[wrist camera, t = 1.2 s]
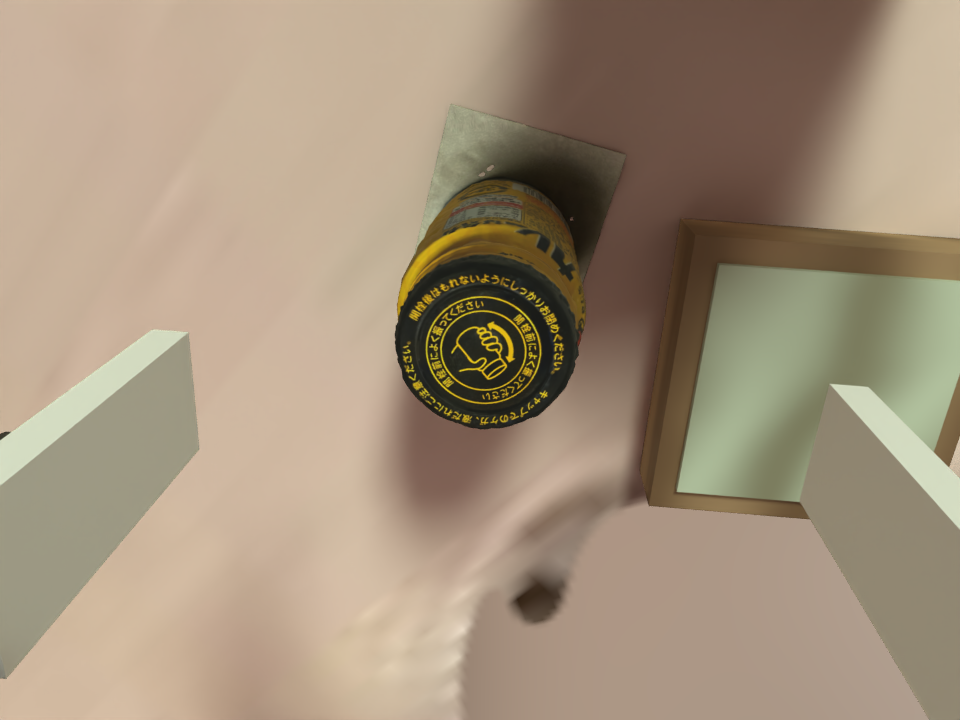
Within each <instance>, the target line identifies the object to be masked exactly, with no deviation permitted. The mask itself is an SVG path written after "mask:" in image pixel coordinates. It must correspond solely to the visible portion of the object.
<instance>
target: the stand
mask: <svg viewBox="0 0 960 720" xmlns="http://www.w3.org/2000/svg"><path fill="white" fill-rule="evenodd" d="M829 384H839V385H851V386H863V387H869V388H870V389H871V390H872V391H873V392H874V393H875V394H876V395H877V396H878V397H879V398H880V399H881V400H882V401H883V402H884V403H885V404H886V405H887V406H888V407H889V408H890V409H891V410H892V411H893V412H894V413H895V414H896V415H897V416H898V417H899V418H900V419H901V420H902V421H903V422H904V423H905V424H906V425H907V426H908V427H909V428H910V429H911V430H912V431H913V432H914V433H915V434H916V435H917V436H918V437H919V438H920V439H921V440H922V441H923V442H924V443H925V444H926V445H927V446H928V447H929V448H930V449H931V450H932V451H933V452H934V453H935V454H936V455H937V456H938V457H939V458H940V459H941V460H942V461H943V462H944V463H945V464H946V465H947V466H948V467H949V466H950V463H951V460H952V457H953V454H954V451H955V448H956V446H957V443H958V440H959V437H960V239H956V238H942V237H929V236H915V235H901V234H887V233H873V232H859V231H846V230H832V229H818V228H804V227H790V226H777V225H763V224H749V223H735V222H721V221H707V220H694V219H681V220H680V226H679V232H678V238H677V244H676V251H675V257H674V263H673V269H672V275H671V281H670V287H669V293H668V300H667V306H666V312H665V318H664V324H663V330H662V336H661V342H660V348H659V355H658V361H657V367H656V373H655V379H654V385H653V391H652V397H651V404H650V410H649V416H648V422H647V428H646V434H645V440H644V446H643V452H642V459H641V465H640V474H641V478H642V481H643V485H644V489H645V493H646V497H647V500H648V504H649V506H658V507H670V508H682V509H694V510H705V511H718V512H730V513H742V514H754V515H766V516H777V517H789V518H801V519H810V518H809V516H808V514H807V513H806V511H805V509H804V508H803V506H802V504H801V503H800V501H799V500H800V496H801V492H802V488H803V484H804V481H805V477H806V473H807V469H808V465H809V461H810V457H811V454H812V450H813V446H814V442H815V438H816V434H817V430H818V426H819V423H820V419H821V415H822V411H823V407H824V403H825V399H826V396H827V392H828V388H829Z"/></svg>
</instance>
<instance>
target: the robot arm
mask: <svg viewBox="0 0 960 720" xmlns="http://www.w3.org/2000/svg"><path fill="white" fill-rule="evenodd" d="M198 450H199V439H198V428H197V417H196V407H195V396H194V385H193V374H192V363H191V353H190V342H189V332H178V331H166V330H153V329H152V330H151V331H150V332H148V333H147V334H146V335H144V336H143V337H141V338H140V339H139V340H137V341H136V342H135V343H133V344H132V345H130V346H129V347H128V348H126V349H125V350H124V351H122V352H121V353H119V354H118V355H117V356H115V357H114V358H113V359H111V360H110V361H108V362H107V363H106V364H104V365H103V366H102V367H100V368H99V369H98V370H96V371H95V372H93V373H92V374H91V375H89V376H88V377H87V378H85V379H84V380H82V381H81V382H80V383H78V384H77V385H76V386H74V387H73V388H71V389H70V390H69V391H67V392H66V393H65V394H63V395H62V396H60V397H59V398H58V399H56V400H55V401H54V402H52V403H51V404H50V405H48V406H47V407H45V408H44V409H43V410H41V411H40V412H39V413H37V414H36V415H34V416H33V417H32V418H30V419H29V420H28V421H26V422H25V423H23V424H22V425H21V426H19V427H18V428H17V429H15V430H14V431H12V432H4V433H1V434H0V678H3V679H7V677H8V676H9V675H10V674H11V673H12V671H13V670H14V669H15V668H16V667H17V665H18V664H19V663H20V662H21V661H22V660H23V658H24V657H25V656H26V655H27V654H28V652H29V651H30V650H31V649H32V648H33V646H34V645H35V644H36V643H37V642H38V640H39V639H40V638H41V637H42V636H43V635H44V633H45V632H46V631H47V630H48V629H49V627H50V626H51V625H52V624H53V623H54V621H55V620H56V619H57V618H58V617H59V616H60V614H61V613H62V612H63V611H64V610H65V608H66V607H67V606H68V605H69V604H70V602H71V601H72V600H73V599H74V598H75V596H76V595H77V594H78V593H79V592H80V591H81V589H82V588H83V587H84V586H85V585H86V583H87V582H88V581H89V580H90V579H91V577H92V576H93V575H94V574H95V573H96V571H97V570H98V569H99V568H100V567H101V566H102V564H103V563H104V562H105V561H106V560H107V558H108V557H109V556H110V555H111V554H112V552H113V551H114V550H115V549H116V548H117V546H118V545H119V544H120V543H121V542H122V541H123V539H124V538H125V537H126V536H127V535H128V533H129V532H130V531H131V530H132V529H133V527H134V526H135V525H136V524H137V523H138V521H139V520H140V519H141V518H142V517H143V516H144V514H145V513H146V512H147V511H148V510H149V508H150V507H151V506H152V505H153V504H154V502H155V501H156V500H157V499H158V498H159V496H160V495H161V494H162V493H163V492H164V491H165V489H166V488H167V487H168V486H169V485H170V483H171V482H172V481H173V480H174V479H175V477H176V476H177V475H178V474H179V473H180V472H181V470H182V469H183V468H184V467H185V466H186V464H187V463H188V462H189V461H190V460H191V458H192V457H193V456H194V455H195V454H196V452H197V451H198ZM799 501H800V503H801V504H802V506H803V508H804V509H805V511H806V513H807V514H808V516H809V518H810V520H811V521H812V523H813V524H814V526H815V528H816V530H817V531H818V533H819V534H820V536H821V538H822V539H823V541H824V543H825V545H826V547H827V548H828V550H829V552H830V553H831V555H832V557H833V558H834V560H835V562H836V563H837V565H838V567H839V568H840V570H841V572H842V573H843V575H844V577H845V578H846V580H847V582H848V584H849V585H850V587H851V589H852V590H853V592H854V594H855V595H856V597H857V599H858V600H859V602H860V603H861V606H862V607H863V609H864V610H865V612H866V614H867V615H868V617H869V619H870V621H871V622H872V624H873V626H874V627H875V629H876V631H877V633H878V634H879V636H880V637H881V639H882V641H883V643H884V644H885V646H886V648H887V649H888V651H889V653H890V654H891V656H892V658H893V659H894V661H895V663H896V664H897V666H898V668H899V670H900V671H901V673H902V675H903V676H904V678H905V680H906V681H907V683H908V684H909V686H910V688H911V690H912V692H913V693H914V695H915V697H916V698H917V700H918V702H919V703H920V705H921V707H922V708H923V710H924V712H925V713H926V715H927V717H928V718H929V720H960V478H959V477H958V476H957V475H956V474H955V473H954V472H953V471H952V470H951V469H950V468H949V467H948V466H947V465H946V464H945V463H944V462H943V461H942V460H941V459H940V458H939V457H938V456H937V455H936V454H935V453H934V452H933V451H932V450H931V449H930V448H929V447H928V446H927V445H926V444H925V443H924V442H923V441H922V440H921V439H920V438H919V437H918V436H917V435H916V434H915V433H914V432H913V431H912V430H911V429H910V428H909V427H908V426H907V425H906V424H905V423H904V422H903V421H902V420H901V419H900V418H899V417H898V416H897V415H896V414H895V413H894V412H893V411H892V410H891V409H890V408H889V407H888V406H887V405H886V404H885V403H884V402H883V401H882V400H881V399H880V398H879V397H878V396H877V395H876V394H875V393H874V392H873V391H872V390H871V389H870V388H869V387H863V386H851V385H839V384H829V388H828V392H827V396H826V399H825V403H824V407H823V411H822V415H821V419H820V423H819V426H818V430H817V434H816V438H815V442H814V446H813V450H812V454H811V457H810V461H809V465H808V469H807V473H806V477H805V481H804V484H803V488H802V492H801V496H800V500H799Z"/></svg>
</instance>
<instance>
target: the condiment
mask: <svg viewBox="0 0 960 720" xmlns="http://www.w3.org/2000/svg"><path fill="white" fill-rule="evenodd" d="M625 158H626V155H625V154H622V153H618V152H615V151H611V150H607V149H605V148H602V147H598V146H595V145H591V144H588V143H584V142H581V141H578V140H574V139H570V138H567V137H565V136H561V135H557V134H553V133H550V132H547V131H543V130H540V129H536V128H533V127H529V126H527V125H526V126H525V125H523V124H520V123H516V122H512V121H508V120H505V119H501V118H498V117H495V116H491V115H488V114H485V113H481V112H477V111H474V110H470V109H467V108H463V107H460V106H456V105H453V104H450V108H449V112H448V116H447V120H446V124H445V128H444V133H443V137H442V141H441V145H440V149H439V153H438V157H437V163H436V167H435V170H434V174H433V178H432V182H431V187H430V191H429V195H428V199H427V204H426V208H425V212H424V216H423V220H422V225H421V229H420V233H419V237H418V241H417V245H416V249H415V254H414V257H413V258H412V260H411V262H410V264H409V266H408V268H407V270H406V272H405V274H404V276H403V278H402V282H401V288H400V292H399V296H398V303H397V313H398V323H397V325H396V331H395V339H396V340H395V345H396V352H397V355H398V363H399V364H400V367H401V369H402V376H403V380H404V381H405V383H406V385H407V386H408V388H409V389H410V391H411V392H412V393H413V394H414V395H415V397H416V398H417V399H418V400H420V401H421V402H422V403H423V404H424V405H425V406H426V407H427V408H429V409H430V410H431V411H432V412H434V413H435V414H437V415H439V416H440V417H443V418H445V419H447V420H450V421H453V422H455V423H459V424H462V425H464V426H467V427H470V428H478V429H490V428H504V427H508V426H512V425H514V424H517V423H520V422H523V421H525V420H527V419H529V418H532V417H536V416H538V415H539V414H540V413H542V412H543V411H544V410H545V409H546V408H547V407H548V406H549V405H550V404H551V403H552V402H553V401H554V400H555V399H556V398H557V397H558V396H559V394H560V393H561V392H562V391H563V390H564V389H565V387H566V385H567V383H568V381H569V379H570V376H571V375H572V373H573V371H574V367H575V360H576V358H577V357H578V346H579V343H580V340H581V335H582V332H583V330H584V325H585V317H586V303H585V298H584V292H583V287H582V284H583V281H584V278H585V275H586V273H587V269H588V266H589V263H590V260H591V258H592V255H593V253H594V249H595V246H596V244H597V241H598V238H599V235H600V231H601V229H602V226H603V223H604V220H605V217H606V214H607V211H608V208H609V205H610V202H611V199H612V196H613V193H614V190H615V188H616V185H617V182H618V179H619V176H620V173H621V170H622V167H623V164H624V161H625ZM490 165H494V166H495V167H494V168H493V169H492V170H491V171H487V170H486V169H487V167H489V166H490ZM482 172H485V176H484V177H479V173H482ZM570 217H573V218H574V221H570Z"/></svg>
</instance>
